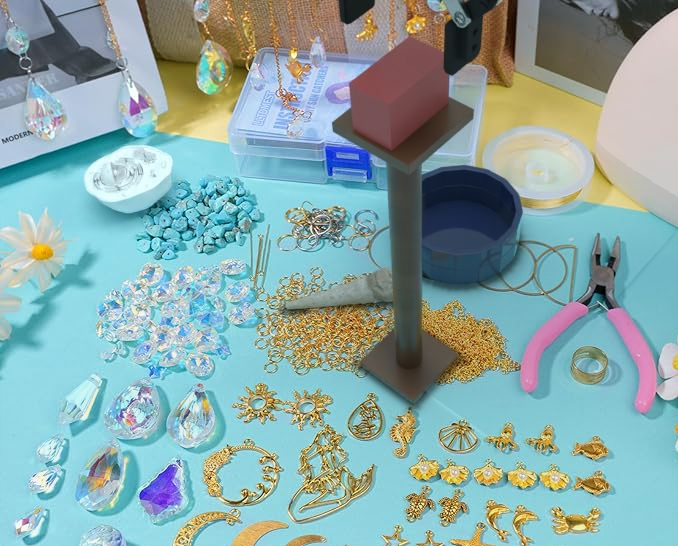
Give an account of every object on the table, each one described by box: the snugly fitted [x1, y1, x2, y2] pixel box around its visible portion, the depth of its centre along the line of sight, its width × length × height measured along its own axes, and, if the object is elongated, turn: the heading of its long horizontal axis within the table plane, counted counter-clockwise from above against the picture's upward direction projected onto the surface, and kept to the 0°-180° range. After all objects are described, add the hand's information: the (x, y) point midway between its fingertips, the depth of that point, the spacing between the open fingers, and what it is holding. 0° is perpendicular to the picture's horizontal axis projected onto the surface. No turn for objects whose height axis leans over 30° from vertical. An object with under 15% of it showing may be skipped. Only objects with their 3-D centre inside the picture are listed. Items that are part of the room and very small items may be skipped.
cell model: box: [83, 145, 173, 214], centre depth 111 cm, size 10×12×7 cm
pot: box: [422, 164, 524, 285], centre depth 102 cm, size 15×15×6 cm
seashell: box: [285, 267, 393, 310], centre depth 99 cm, size 4×16×4 cm, turn 98°
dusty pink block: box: [348, 35, 451, 151], centre depth 64 cm, size 7×4×4 cm, turn 137°
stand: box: [331, 96, 475, 406], centre depth 80 cm, size 8×8×36 cm
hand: (407, 38), depth 60 cm, fingers open, 9 cm apart
